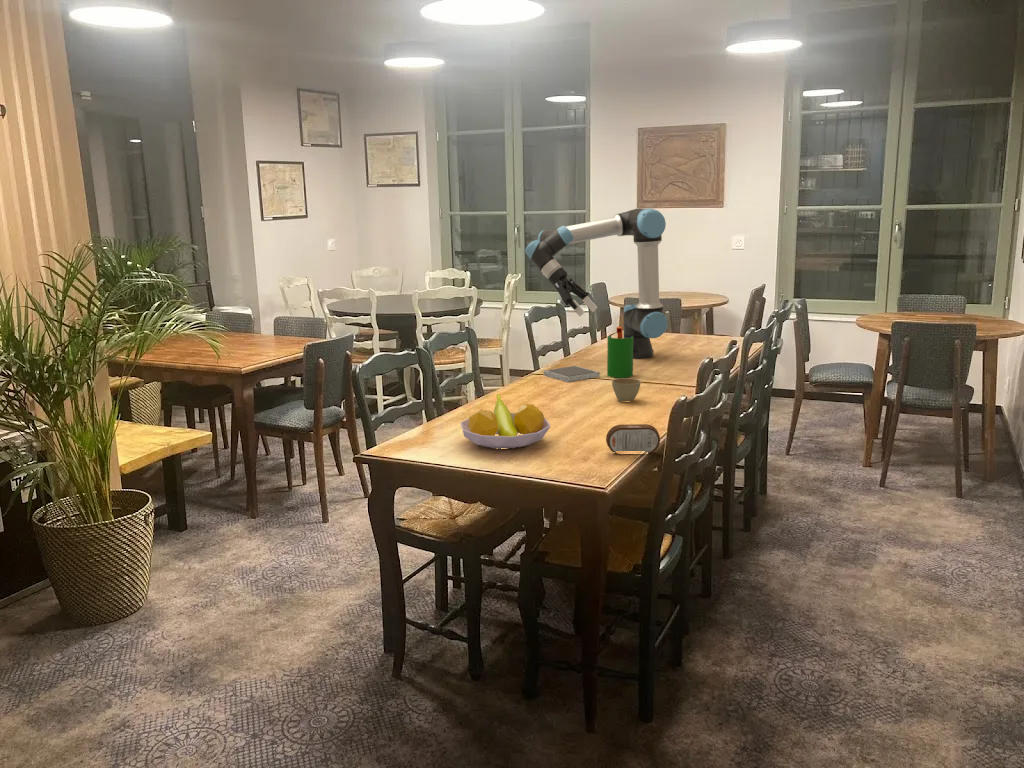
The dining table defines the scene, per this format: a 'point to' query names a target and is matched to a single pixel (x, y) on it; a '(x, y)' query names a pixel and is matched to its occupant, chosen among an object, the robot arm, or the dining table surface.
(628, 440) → the tin
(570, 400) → the dining table surface
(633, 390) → the flower pot
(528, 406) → the fruit bowl
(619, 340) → the green cylindrical container
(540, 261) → the robot arm
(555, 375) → the grey flat square slab
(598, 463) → the dining table surface
